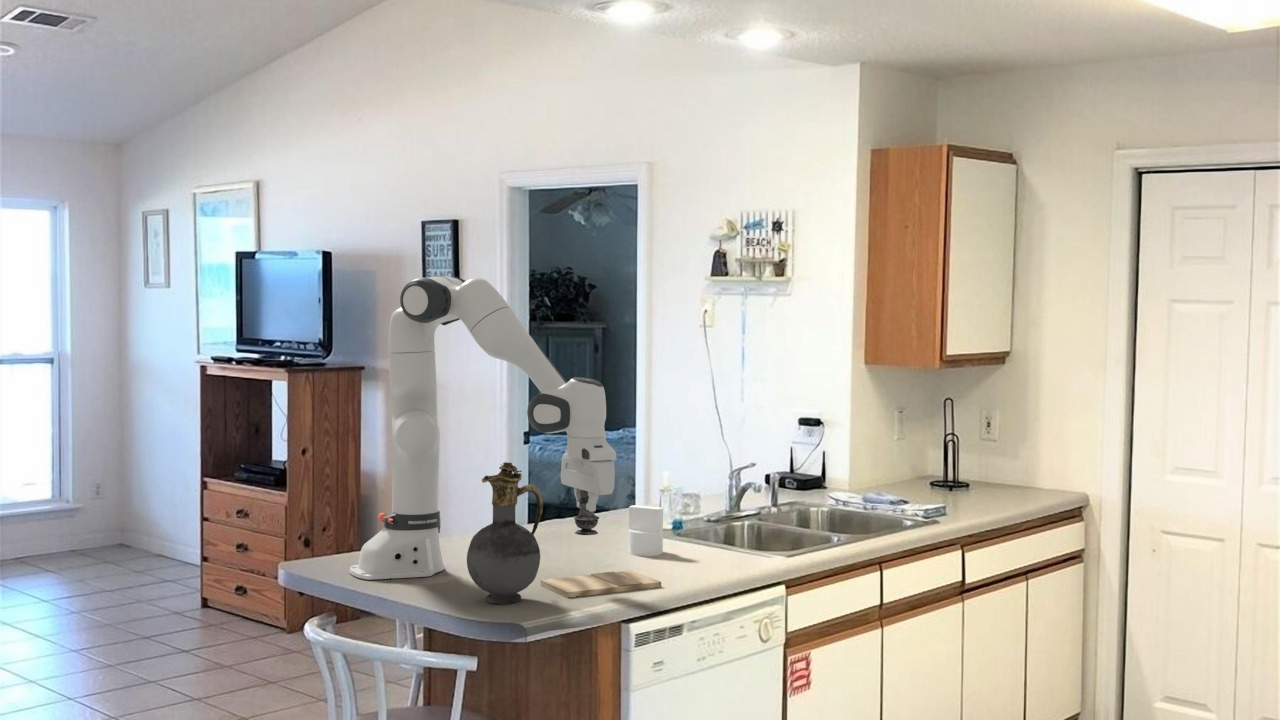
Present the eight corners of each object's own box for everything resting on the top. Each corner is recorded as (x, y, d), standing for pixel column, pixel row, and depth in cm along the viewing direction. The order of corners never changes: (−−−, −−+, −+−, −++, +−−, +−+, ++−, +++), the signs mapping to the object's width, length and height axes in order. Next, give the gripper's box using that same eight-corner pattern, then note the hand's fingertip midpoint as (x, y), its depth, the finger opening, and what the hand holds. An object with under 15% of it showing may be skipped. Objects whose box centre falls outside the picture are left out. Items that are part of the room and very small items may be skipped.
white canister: (668, 551, 328) (668, 506, 327) (654, 557, 320) (654, 511, 319) (637, 548, 332) (637, 503, 331) (622, 554, 323) (623, 508, 323)
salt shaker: (602, 531, 285) (602, 479, 284) (594, 536, 279) (595, 483, 279) (578, 530, 286) (578, 478, 286) (569, 534, 281) (570, 481, 280)
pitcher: (459, 602, 268) (460, 463, 267) (524, 588, 282) (525, 457, 281) (492, 610, 261) (493, 468, 259) (558, 596, 275) (559, 461, 274)
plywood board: (567, 597, 273) (567, 591, 273) (540, 585, 285) (540, 579, 285) (661, 587, 285) (661, 580, 285) (631, 575, 297) (631, 569, 297)
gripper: (554, 445, 290) (553, 504, 290) (594, 454, 272) (594, 517, 272) (578, 443, 293) (578, 502, 293) (619, 452, 275) (619, 515, 275)
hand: (586, 509), depth 283 cm, fingers closed on salt shaker, 3 cm apart
